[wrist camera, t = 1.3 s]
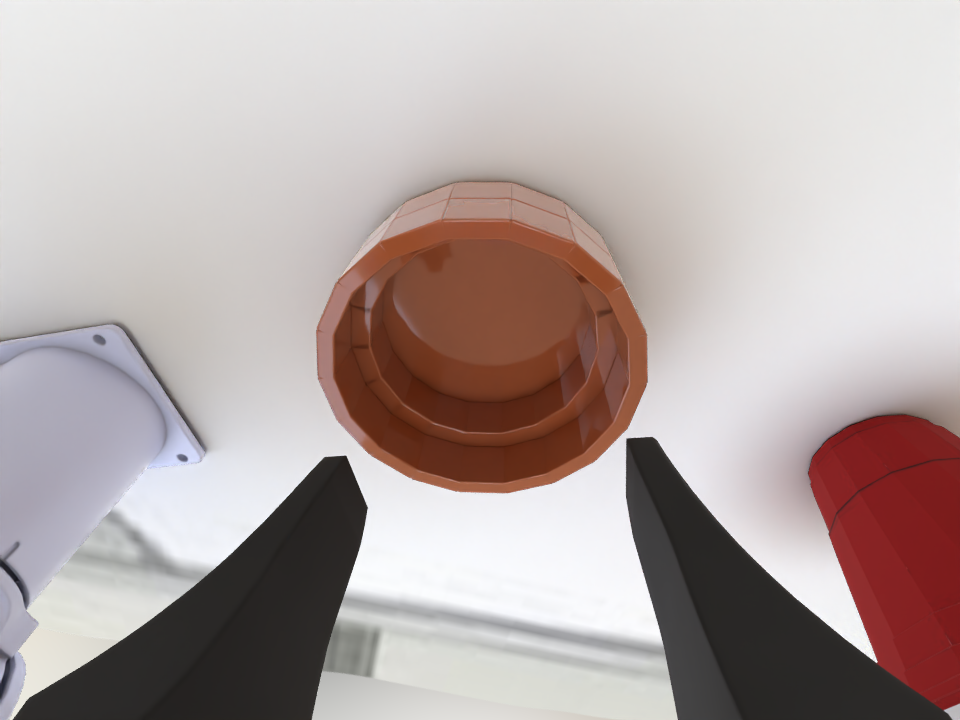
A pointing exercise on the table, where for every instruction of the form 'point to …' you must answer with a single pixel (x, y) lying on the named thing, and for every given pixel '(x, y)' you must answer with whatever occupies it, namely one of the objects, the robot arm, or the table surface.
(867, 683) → the robot arm
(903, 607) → the plastic cup
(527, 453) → the bowl
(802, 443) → the table surface
